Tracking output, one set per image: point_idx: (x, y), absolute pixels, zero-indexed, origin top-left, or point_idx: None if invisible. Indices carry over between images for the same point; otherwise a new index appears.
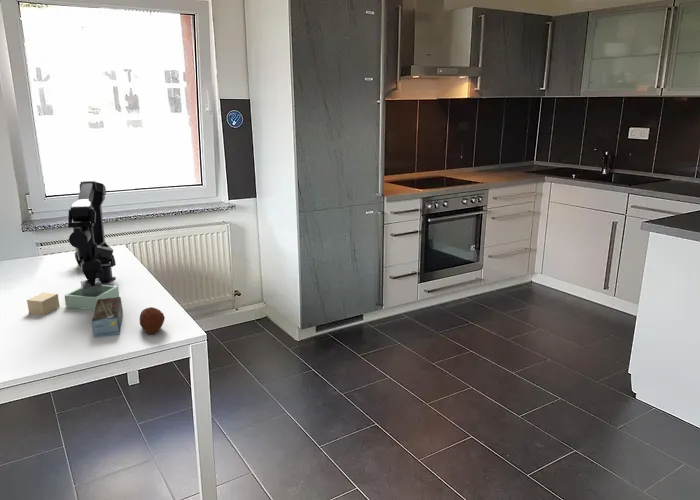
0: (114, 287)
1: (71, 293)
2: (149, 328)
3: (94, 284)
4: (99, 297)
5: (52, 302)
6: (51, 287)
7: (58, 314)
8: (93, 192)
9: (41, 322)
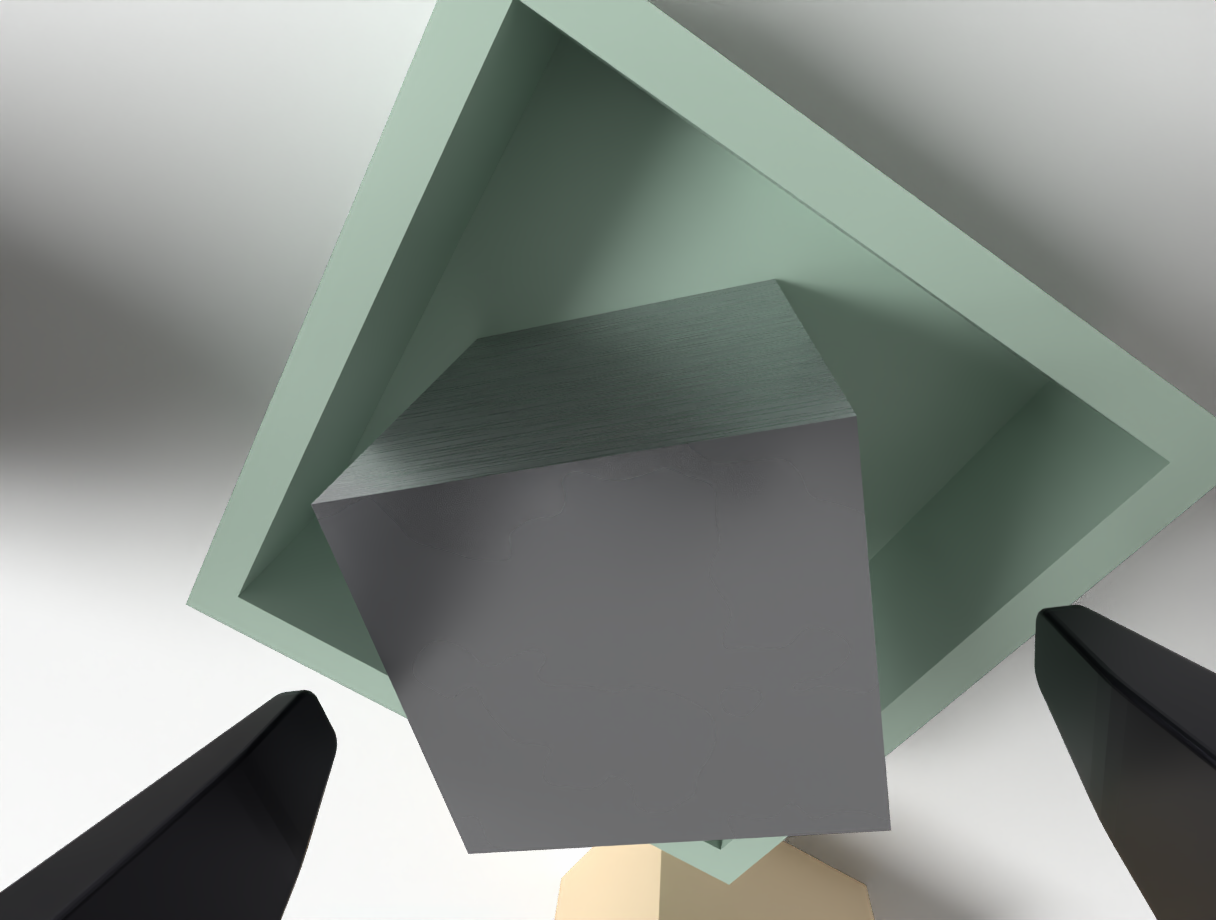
0: (571, 5)
1: None
2: None
3: (1117, 631)
4: (1155, 377)
5: (756, 916)
6: (14, 834)
7: (944, 785)
8: None
9: (1112, 904)
